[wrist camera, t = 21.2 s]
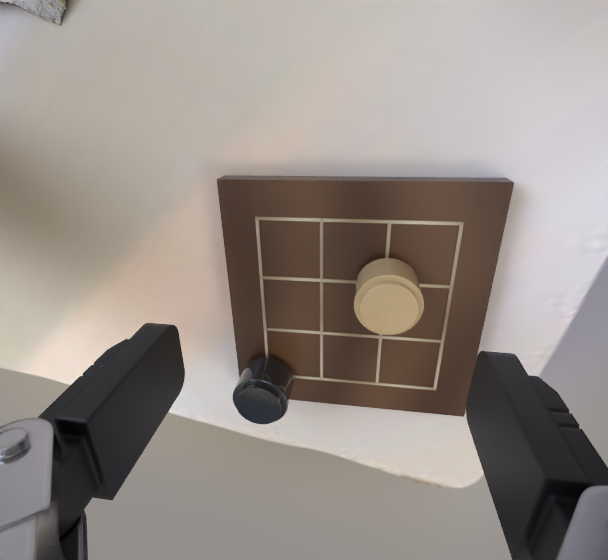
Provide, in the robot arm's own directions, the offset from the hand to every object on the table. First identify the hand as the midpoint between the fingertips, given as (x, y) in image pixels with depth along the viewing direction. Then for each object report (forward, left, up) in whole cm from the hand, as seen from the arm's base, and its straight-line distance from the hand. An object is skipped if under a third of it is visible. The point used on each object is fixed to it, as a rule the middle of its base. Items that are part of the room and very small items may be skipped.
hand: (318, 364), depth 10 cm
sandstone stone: (+3, -6, -18) cm, 19 cm away
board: (0, -8, -20) cm, 21 cm away
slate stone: (-7, -16, -18) cm, 25 cm away
